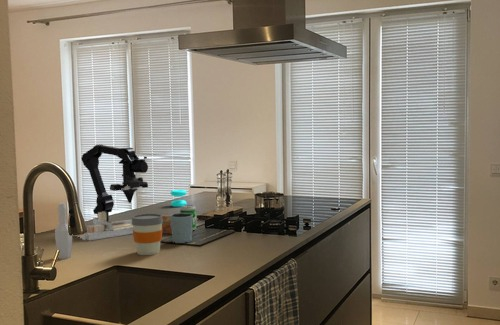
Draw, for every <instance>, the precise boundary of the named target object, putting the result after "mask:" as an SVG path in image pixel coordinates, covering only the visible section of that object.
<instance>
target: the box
mask: <svg viewBox="0 0 500 325" xmlns="http://www.w3.org/2000/svg"><path fill="white" fill-rule="evenodd" d="M87 230H88V228H87ZM87 234H88V233H87ZM87 234H84V235H80V238H79V239H81V238H82V239H81V240H83V239H84V240H83V241H87V240H86V239H87ZM78 237H79V236H78ZM78 237H77V238H78Z"/></svg>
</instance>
